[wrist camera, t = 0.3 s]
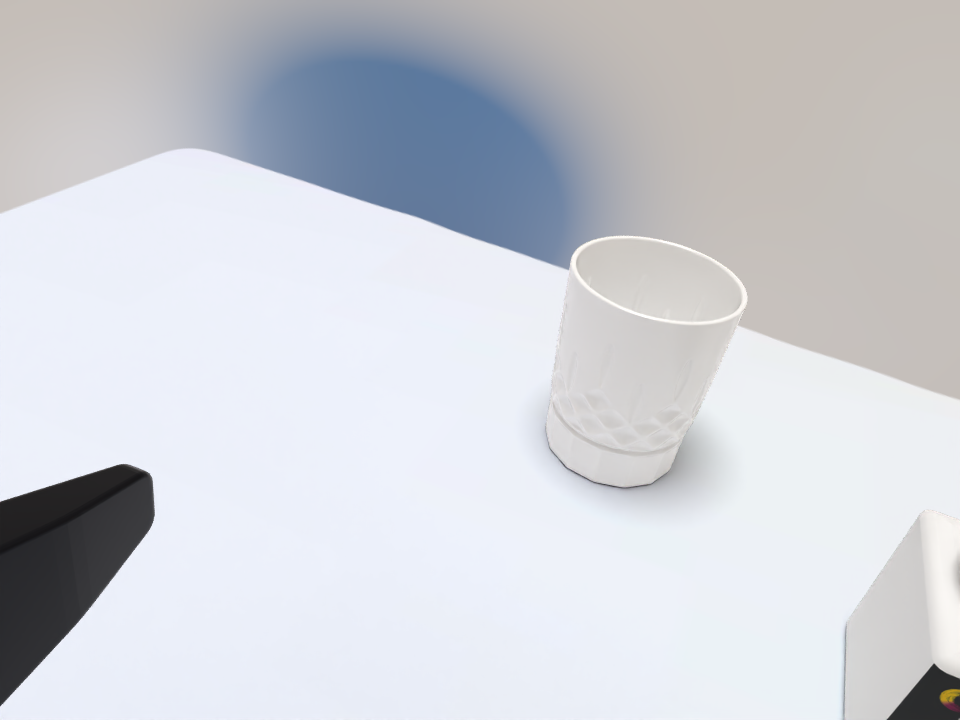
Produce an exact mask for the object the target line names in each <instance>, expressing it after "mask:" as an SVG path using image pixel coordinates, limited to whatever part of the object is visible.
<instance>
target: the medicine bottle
mask: <svg viewBox="0 0 960 720" xmlns="http://www.w3.org/2000/svg"><path fill="white" fill-rule="evenodd" d="M844 720H960V520H959V519H956V518H953V517H950V516H948V515H945V514H942V513H939V512H936V511H933V510H925V511H923V512H922V513H920V515H919V516H918V518H917V519H916V521H915V522H914V524H913V525H912V527H911V528H910V529H909V531H908V532H907V534H906V535H905V537H904V538H903V540H902V541H901V543H900V544H899V546H898V547H897V549H896V550H895V552H894V553H893V554H892V556H891V557H890V559H889V560H888V562H887V563H886V565H885V566H884V568H883V569H882V571H881V572H880V574H879V575H878V577H877V578H876V580H875V581H874V582H873V584H872V585H871V587H870V588H869V590H868V591H867V593H866V594H865V596H864V597H863V599H862V600H861V602H860V603H859V605H858V606H857V608H856V609H855V610H854V612H853V613H852V615H851V616H850V618H849V619H848V621H847V628H846V670H845V712H844Z"/></svg>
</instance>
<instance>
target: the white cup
mask: <svg viewBox="0 0 960 720" xmlns="http://www.w3.org/2000/svg"><path fill="white" fill-rule="evenodd" d="M747 302H748V295H747V291H746V289H745V287H744V285H743V284H742V282H741V281H740V280H739V278H738V277H737V276H736V275H735V274H734V273H733V272H731V271H730V270H729V269H728V268H726V267H725V266H724V265H722V264H721V263H719V262H717V261H716V260H714V259H712V258H710V257H708V256H707V255H704V254H702V253H700V252H698V251H695V250H693V249H690V248H688V247H685V246H682V245H679V244H675V243H672V242H668V241H664V240H659V239H654V238H647V237H637V236H612V237H604V238H599V239H595V240H592V241H589V242H587V243H585V244H583V245H581V246H580V247H579V248H578V249H577V250H576V251H575V252H574V254H573V256H572V258H571V264H570V269H569V275H568V282H567V288H566V294H565V299H564V305H563V311H562V317H561V323H560V329H559V334H558V340H557V346H556V355H555V364H554V369H553V374H552V385H551V399H550V404H549V409H548V415H547V420H546V433H547V437H548V442H549V446H550V449H551V450H552V451H553V452H554V453H555V454H556V456H557V457H558V458H559V459H560V460H561V461H562V462H563V463H564V465H565V466H566V467H567V468H569V469H571V470H573V471H575V472H576V473H578V474H580V475H582V476H584V477H586V478H587V479H589V480H591V481H593V482H597V483H602V484H607V485H612V486H618V487H623V488H625V487H632V486H639V485H646V484H651V483H653V482H654V481H655V480H657V479H658V478H660V477H661V476H662V475H664V474H665V473H667V472H668V471H669V470H670V468H671V466H672V464H673V461H674V459H675V457H676V454H677V452H678V450H679V447H680V445H681V443H682V440H683V438H684V436H685V433H686V432H687V430H688V429H689V427H690V426H691V425H692V424H693V421H694V419H695V417H696V415H697V413H698V411H699V409H700V407H701V405H702V402H703V401H704V398H705V396H706V394H707V392H708V390H709V388H710V386H711V384H712V382H713V380H714V378H715V375H716V373H717V371H718V369H719V366H720V364H721V362H722V360H723V357H724V355H725V353H726V350H727V348H728V346H729V344H730V341H731V339H732V337H733V335H734V332H735V330H736V328H737V326H738V323H739V321H740V319H741V317H742V315H743V312H744V310H745V308H746V306H747Z"/></svg>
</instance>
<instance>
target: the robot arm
mask: <svg viewBox="0 0 960 720" xmlns="http://www.w3.org/2000/svg"><path fill="white" fill-rule="evenodd" d="M154 516H155V509H154V493H153V480H152V477H151V475H150V474H149V473H148V472H146V471H144V470H141V469H139V468H136V467H134V466H132V465H128V464H120V465H116V466H113V467H110V468H106V469H103V470H100V471H97V472H94V473H90V474H87V475H84V476H81V477H78V478H74V479H71V480H68V481H65V482H62V483H58V484H55V485H52V486H49V487H46V488H42V489H39V490H36V491H33V492H30V493H26V494H23V495H20V496H17V497H14V498H10V499H7V500H4V501H1V502H0V706H1V705H2V704H3V703H4V702H5V701H6V700H7V699H8V698H9V696H10V695H11V694H12V693H13V692H14V691H15V690H16V689H17V688H18V687H19V686H20V685H21V683H22V682H23V681H24V680H25V679H26V678H27V677H28V676H29V675H30V674H31V673H32V672H33V671H34V669H35V668H36V667H37V666H38V665H39V664H40V663H41V662H42V661H43V660H44V659H45V658H46V657H47V655H48V654H49V653H50V652H51V651H52V650H53V649H54V648H55V647H56V646H57V645H58V644H59V643H60V641H61V640H62V639H63V638H64V637H65V636H66V635H67V634H68V633H69V632H70V631H71V629H72V628H73V627H74V626H75V625H76V624H77V623H78V622H79V621H80V619H81V618H82V617H83V616H84V615H85V613H86V612H87V611H88V610H89V608H90V607H91V606H92V605H93V603H94V602H95V601H96V599H97V598H98V597H99V596H100V594H101V593H102V592H103V590H104V589H105V588H106V586H107V585H108V584H109V582H110V581H111V580H112V579H113V577H114V576H115V575H116V573H117V572H118V571H119V569H120V568H121V567H122V565H123V564H124V563H125V561H126V560H127V559H128V558H129V556H130V555H131V554H132V552H133V551H134V550H135V548H136V547H137V546H138V544H139V543H140V542H141V540H142V539H143V538H144V537H145V535H146V534H147V533H148V531H149V530H150V528H151V526H152V523H153V521H154Z"/></svg>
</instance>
